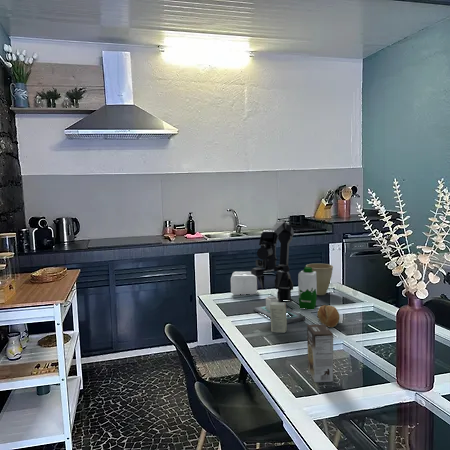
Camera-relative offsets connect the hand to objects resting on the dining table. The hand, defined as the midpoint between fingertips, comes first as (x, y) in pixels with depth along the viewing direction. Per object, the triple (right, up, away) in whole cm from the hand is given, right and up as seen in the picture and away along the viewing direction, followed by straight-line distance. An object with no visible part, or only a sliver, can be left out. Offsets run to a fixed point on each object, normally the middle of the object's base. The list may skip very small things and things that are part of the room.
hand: (270, 287), depth 206 cm
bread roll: (+24, -14, -18) cm, 33 cm away
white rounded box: (-11, -9, +37) cm, 40 cm away
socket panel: (+3, -13, -4) cm, 14 cm away
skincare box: (+1, -15, -25) cm, 29 cm away
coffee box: (+9, -20, -67) cm, 71 cm away
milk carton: (+19, -11, +6) cm, 23 cm away
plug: (+1, -12, +1) cm, 13 cm away
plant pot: (+31, -8, +31) cm, 45 cm away
